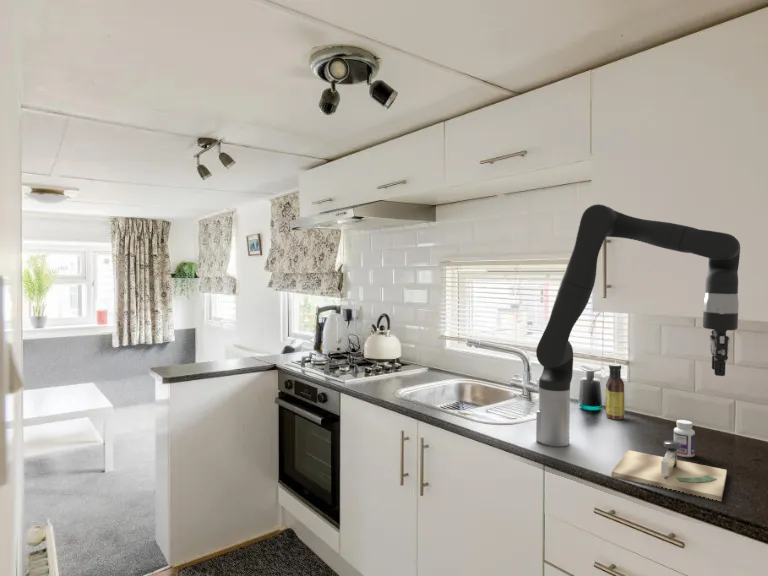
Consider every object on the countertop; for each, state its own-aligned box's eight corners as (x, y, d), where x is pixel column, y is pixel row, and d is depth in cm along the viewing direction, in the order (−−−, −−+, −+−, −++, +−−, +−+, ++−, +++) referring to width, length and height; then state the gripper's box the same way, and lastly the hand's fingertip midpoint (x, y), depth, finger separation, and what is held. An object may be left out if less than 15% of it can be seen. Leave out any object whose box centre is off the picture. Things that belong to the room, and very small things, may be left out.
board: (611, 476, 132) (611, 470, 131) (628, 454, 147) (628, 449, 147) (721, 501, 117) (721, 495, 117) (726, 474, 133) (726, 469, 133)
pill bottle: (686, 450, 150) (687, 418, 150) (698, 457, 145) (699, 424, 145) (669, 451, 150) (669, 419, 150) (680, 457, 145) (681, 424, 144)
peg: (664, 461, 138) (665, 439, 138) (681, 464, 136) (681, 442, 135) (655, 477, 127) (656, 454, 127) (673, 481, 125) (674, 457, 124)
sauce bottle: (612, 414, 188) (613, 362, 188) (628, 418, 183) (629, 364, 183) (601, 417, 185) (602, 363, 184) (617, 421, 180) (618, 366, 179)
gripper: (701, 308, 138) (699, 366, 139) (705, 311, 125) (702, 375, 126) (734, 309, 134) (732, 369, 135) (741, 313, 122) (739, 379, 122)
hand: (718, 372), depth 130 cm, fingers open, 8 cm apart
